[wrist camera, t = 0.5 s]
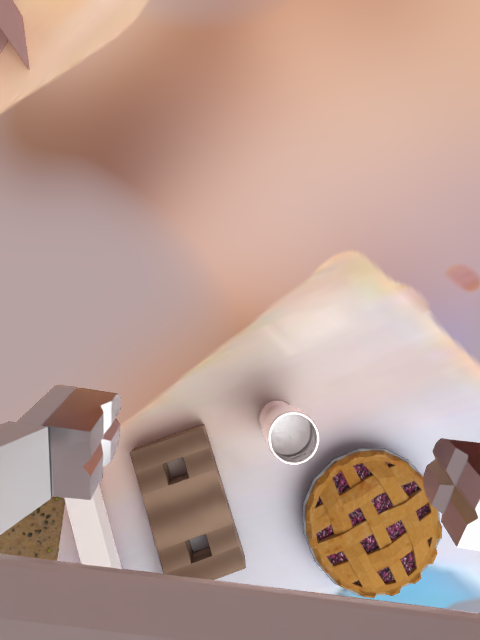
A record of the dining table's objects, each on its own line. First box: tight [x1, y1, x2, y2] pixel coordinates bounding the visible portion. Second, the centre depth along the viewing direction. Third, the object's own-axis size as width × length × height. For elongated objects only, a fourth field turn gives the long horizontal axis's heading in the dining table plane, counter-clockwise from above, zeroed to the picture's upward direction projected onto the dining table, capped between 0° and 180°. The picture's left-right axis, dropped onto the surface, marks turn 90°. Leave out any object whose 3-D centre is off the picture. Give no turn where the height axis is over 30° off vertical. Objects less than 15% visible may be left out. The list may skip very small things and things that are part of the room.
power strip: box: [64, 485, 122, 569], centre depth 53 cm, size 18×4×6 cm, turn 18°
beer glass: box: [259, 400, 319, 465], centre depth 51 cm, size 7×7×15 cm
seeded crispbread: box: [0, 497, 65, 561], centre depth 55 cm, size 12×12×1 cm
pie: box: [303, 448, 442, 598], centre depth 55 cm, size 22×22×5 cm
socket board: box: [130, 424, 246, 580], centre depth 55 cm, size 22×12×3 cm, turn 18°
